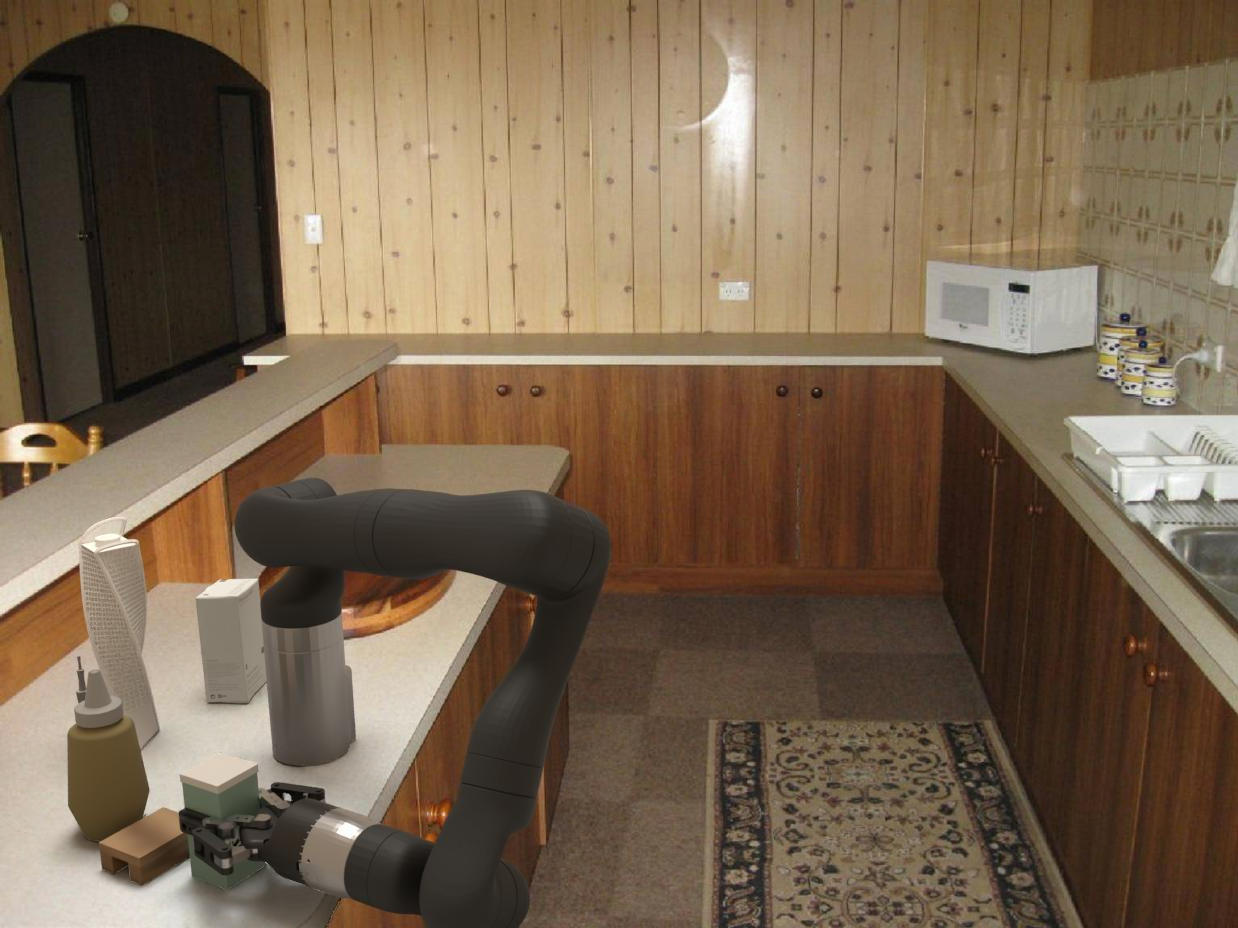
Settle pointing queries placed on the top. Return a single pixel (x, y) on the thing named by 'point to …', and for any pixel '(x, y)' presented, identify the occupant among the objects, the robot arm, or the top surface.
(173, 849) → the brown wooden bridge block
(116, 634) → the skyscraper
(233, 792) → the tin
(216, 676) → the skincare box
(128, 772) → the squeeze bottle
